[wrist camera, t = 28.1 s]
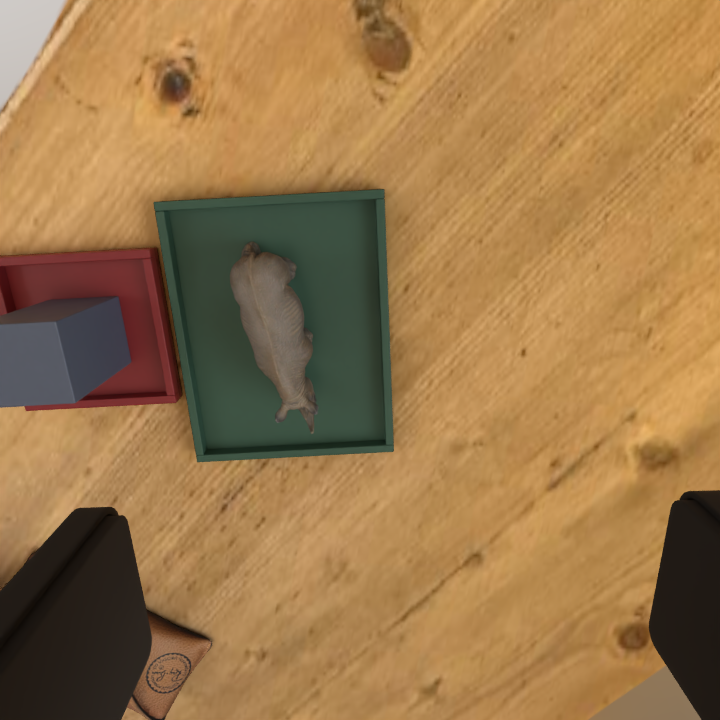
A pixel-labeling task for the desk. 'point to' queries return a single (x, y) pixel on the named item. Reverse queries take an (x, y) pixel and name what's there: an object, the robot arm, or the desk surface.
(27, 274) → the burgundy tray
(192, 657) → the sunglasses case
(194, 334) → the green tray
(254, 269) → the rhino figurine
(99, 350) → the block
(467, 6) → the desk surface
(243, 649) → the desk surface
